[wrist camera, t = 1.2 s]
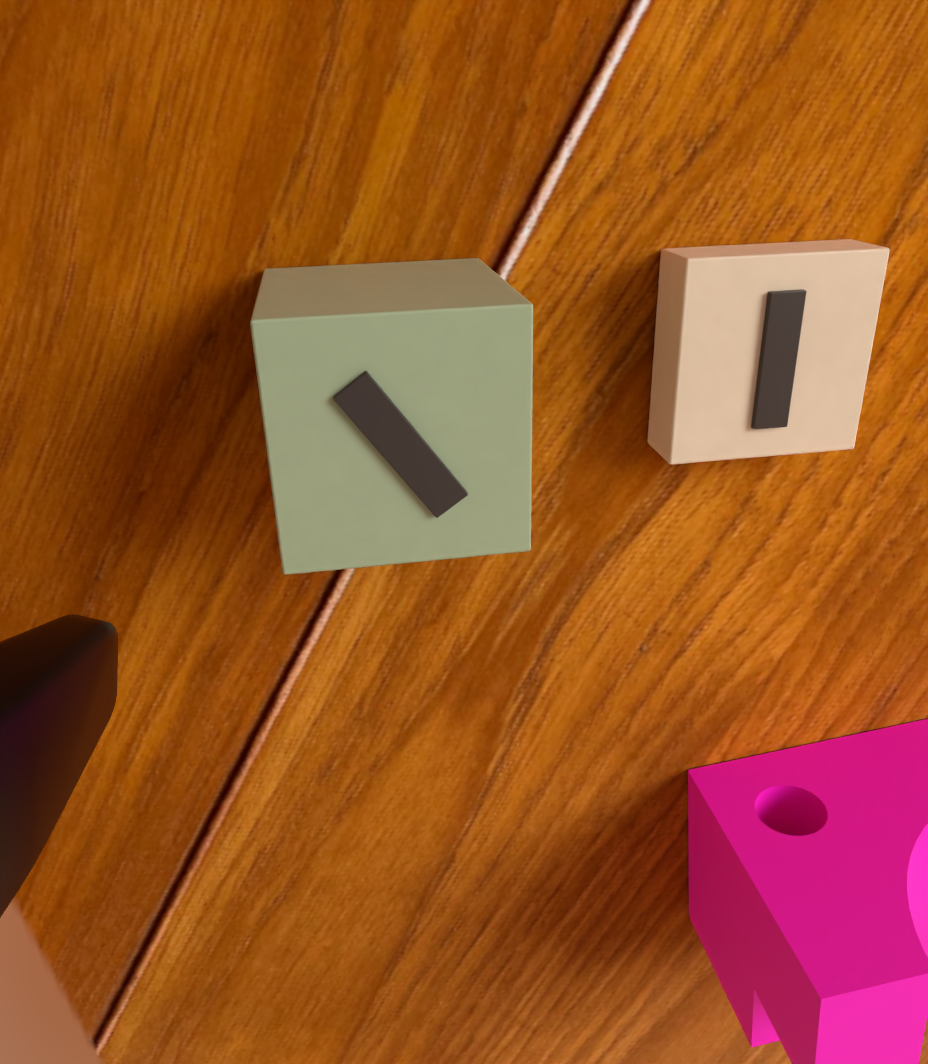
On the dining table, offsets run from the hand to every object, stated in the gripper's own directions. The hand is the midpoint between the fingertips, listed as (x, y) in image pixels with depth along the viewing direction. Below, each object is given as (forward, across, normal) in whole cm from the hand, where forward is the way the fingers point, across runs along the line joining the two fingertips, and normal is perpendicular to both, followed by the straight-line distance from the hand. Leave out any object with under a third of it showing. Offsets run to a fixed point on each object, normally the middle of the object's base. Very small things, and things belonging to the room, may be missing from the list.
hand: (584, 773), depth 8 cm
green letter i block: (+12, +4, +1) cm, 13 cm away
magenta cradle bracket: (+16, -14, +12) cm, 25 cm away
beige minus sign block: (+15, -4, -1) cm, 15 cm away
